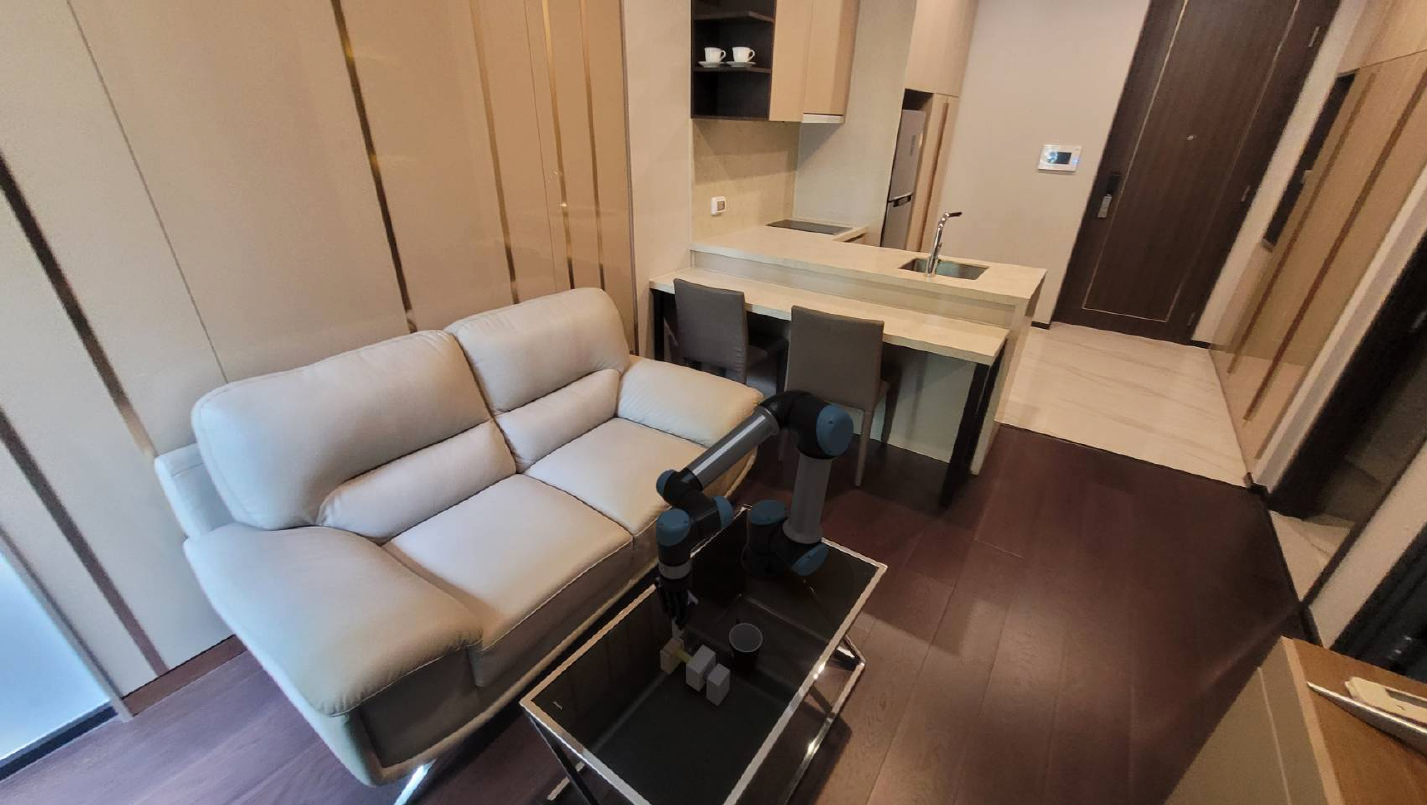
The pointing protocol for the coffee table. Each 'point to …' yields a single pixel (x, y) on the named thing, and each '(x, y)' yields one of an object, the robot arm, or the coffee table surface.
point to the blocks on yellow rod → (713, 675)
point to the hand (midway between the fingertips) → (678, 634)
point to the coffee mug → (744, 646)
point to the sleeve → (699, 667)
